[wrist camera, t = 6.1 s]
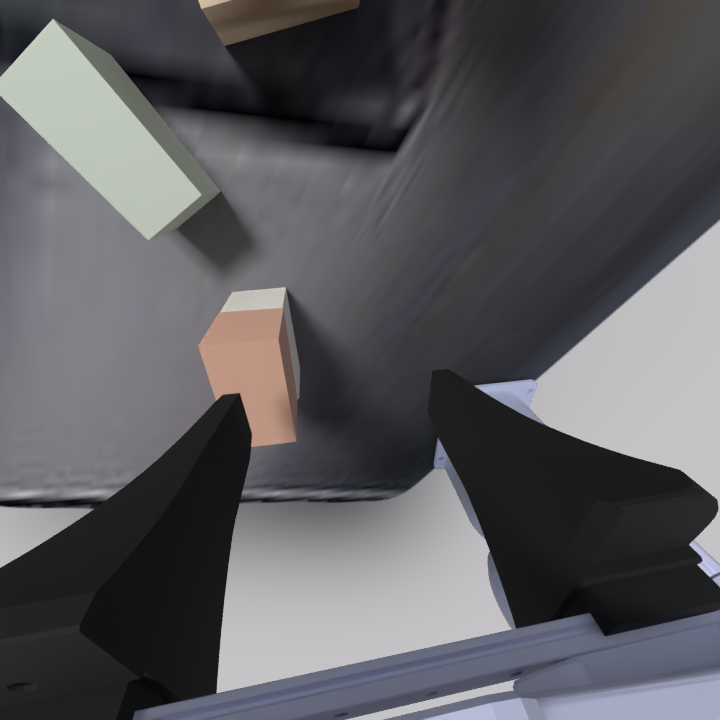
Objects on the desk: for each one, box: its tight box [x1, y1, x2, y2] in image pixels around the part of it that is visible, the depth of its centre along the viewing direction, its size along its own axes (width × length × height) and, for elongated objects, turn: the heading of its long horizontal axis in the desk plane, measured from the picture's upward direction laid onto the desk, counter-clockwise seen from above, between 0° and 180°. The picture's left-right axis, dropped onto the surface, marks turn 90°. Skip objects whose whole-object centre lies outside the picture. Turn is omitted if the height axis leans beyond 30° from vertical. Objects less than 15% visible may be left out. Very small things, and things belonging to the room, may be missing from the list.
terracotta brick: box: [198, 308, 298, 447], centre depth 16 cm, size 6×3×4 cm, turn 1°
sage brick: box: [0, 19, 221, 240], centre depth 13 cm, size 6×3×4 cm, turn 33°
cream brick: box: [221, 287, 300, 399], centre depth 19 cm, size 6×3×4 cm, turn 3°
